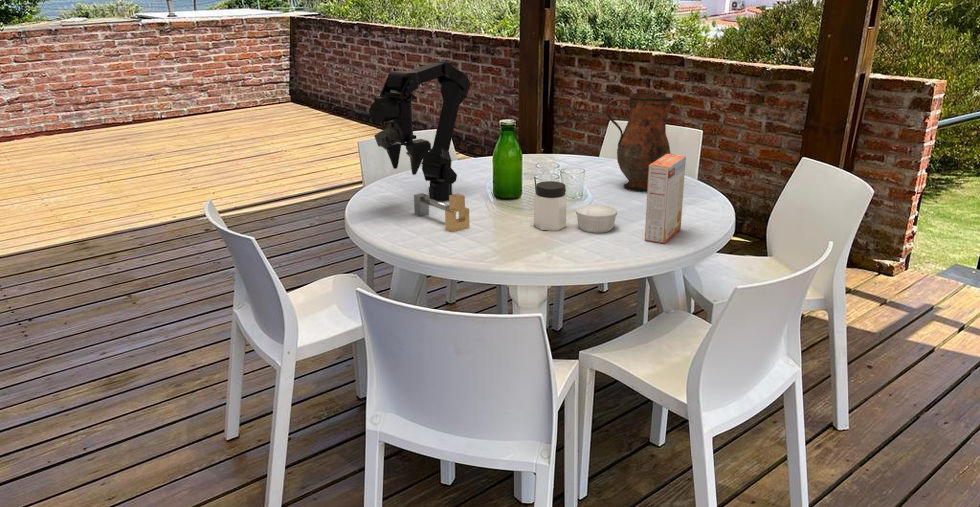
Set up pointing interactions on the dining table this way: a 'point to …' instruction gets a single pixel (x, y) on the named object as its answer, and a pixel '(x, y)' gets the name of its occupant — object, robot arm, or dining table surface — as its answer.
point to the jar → (550, 206)
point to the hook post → (426, 204)
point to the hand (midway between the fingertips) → (404, 171)
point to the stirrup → (450, 215)
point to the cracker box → (664, 198)
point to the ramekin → (596, 218)
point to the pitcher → (642, 137)
